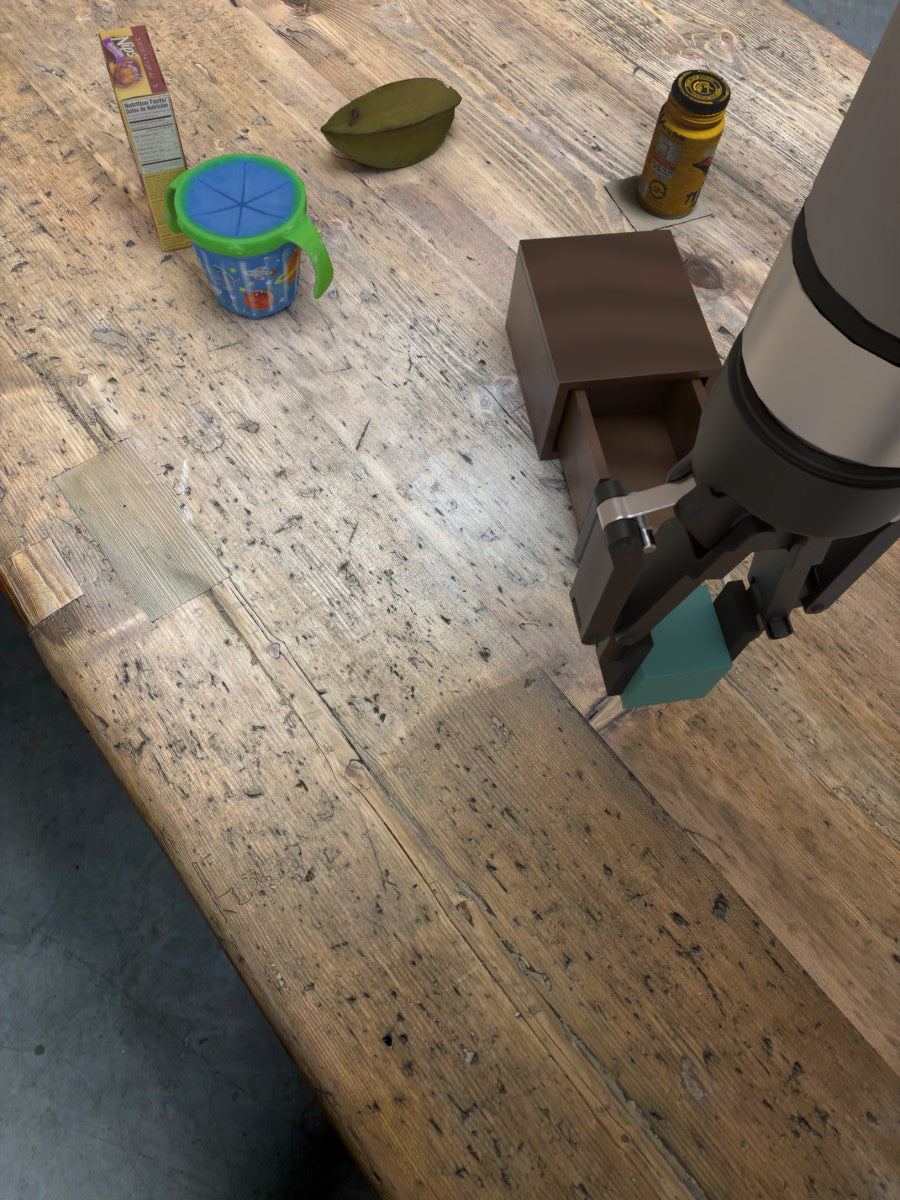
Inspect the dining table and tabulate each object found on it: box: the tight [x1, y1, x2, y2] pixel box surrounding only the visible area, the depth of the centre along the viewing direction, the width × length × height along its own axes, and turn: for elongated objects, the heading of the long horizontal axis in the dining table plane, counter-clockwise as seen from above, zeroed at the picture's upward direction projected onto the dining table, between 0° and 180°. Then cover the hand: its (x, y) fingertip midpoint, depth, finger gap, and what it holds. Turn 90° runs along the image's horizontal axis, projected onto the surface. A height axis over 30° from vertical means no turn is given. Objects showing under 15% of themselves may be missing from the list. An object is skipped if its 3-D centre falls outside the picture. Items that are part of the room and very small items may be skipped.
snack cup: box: [165, 152, 335, 320], centre depth 79 cm, size 16×10×10 cm
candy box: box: [97, 24, 193, 252], centre depth 80 cm, size 9×4×15 cm, turn 20°
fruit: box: [319, 77, 463, 170], centre depth 90 cm, size 11×12×7 cm
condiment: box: [603, 68, 732, 232], centre depth 87 cm, size 7×8×12 cm
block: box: [619, 584, 734, 710], centre depth 48 cm, size 4×4×4 cm
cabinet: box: [505, 228, 723, 462], centre depth 77 cm, size 15×13×10 cm
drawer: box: [556, 377, 733, 602], centre depth 70 cm, size 21×12×8 cm, turn 10°
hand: (655, 664), depth 49 cm, fingers closed on block, 4 cm apart
